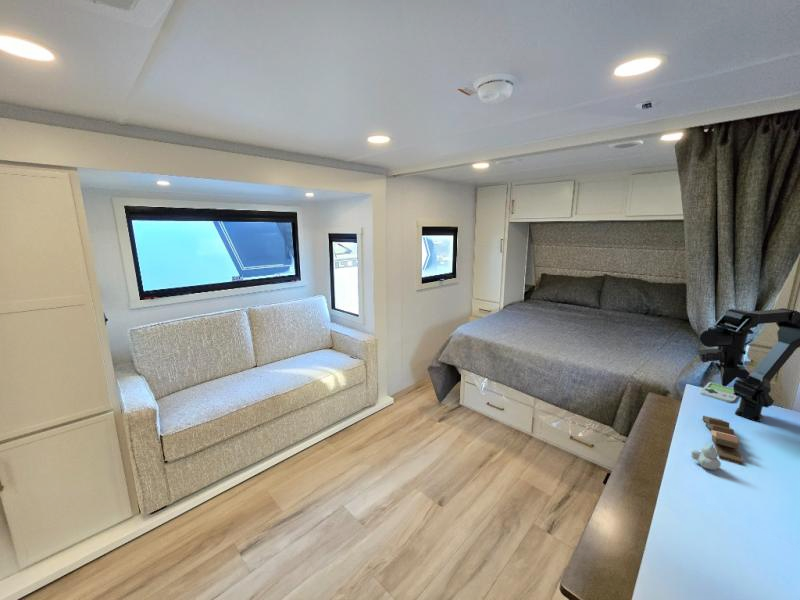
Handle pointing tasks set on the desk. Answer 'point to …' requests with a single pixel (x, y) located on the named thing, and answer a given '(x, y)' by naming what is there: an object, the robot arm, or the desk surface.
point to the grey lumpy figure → (707, 457)
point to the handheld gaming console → (719, 392)
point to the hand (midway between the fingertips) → (723, 385)
